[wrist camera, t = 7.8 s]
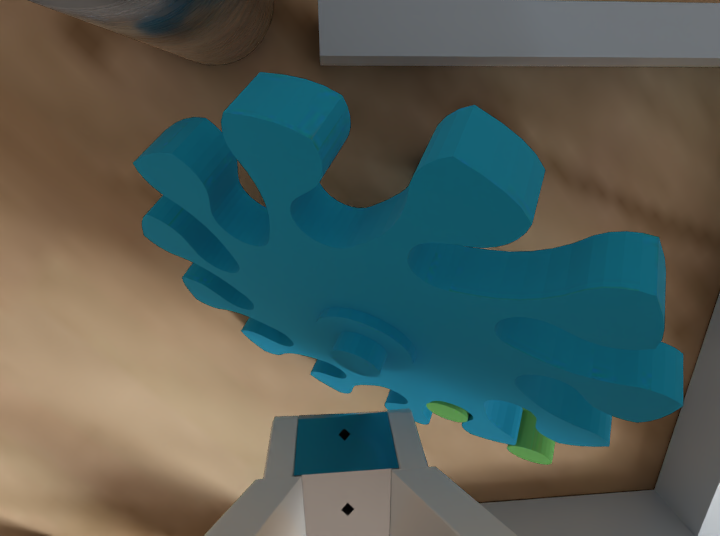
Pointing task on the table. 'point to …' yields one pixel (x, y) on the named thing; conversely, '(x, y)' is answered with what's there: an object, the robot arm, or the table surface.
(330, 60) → the u-shaped bent rod
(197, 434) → the table surface
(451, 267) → the gear
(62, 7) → the spacer posts
